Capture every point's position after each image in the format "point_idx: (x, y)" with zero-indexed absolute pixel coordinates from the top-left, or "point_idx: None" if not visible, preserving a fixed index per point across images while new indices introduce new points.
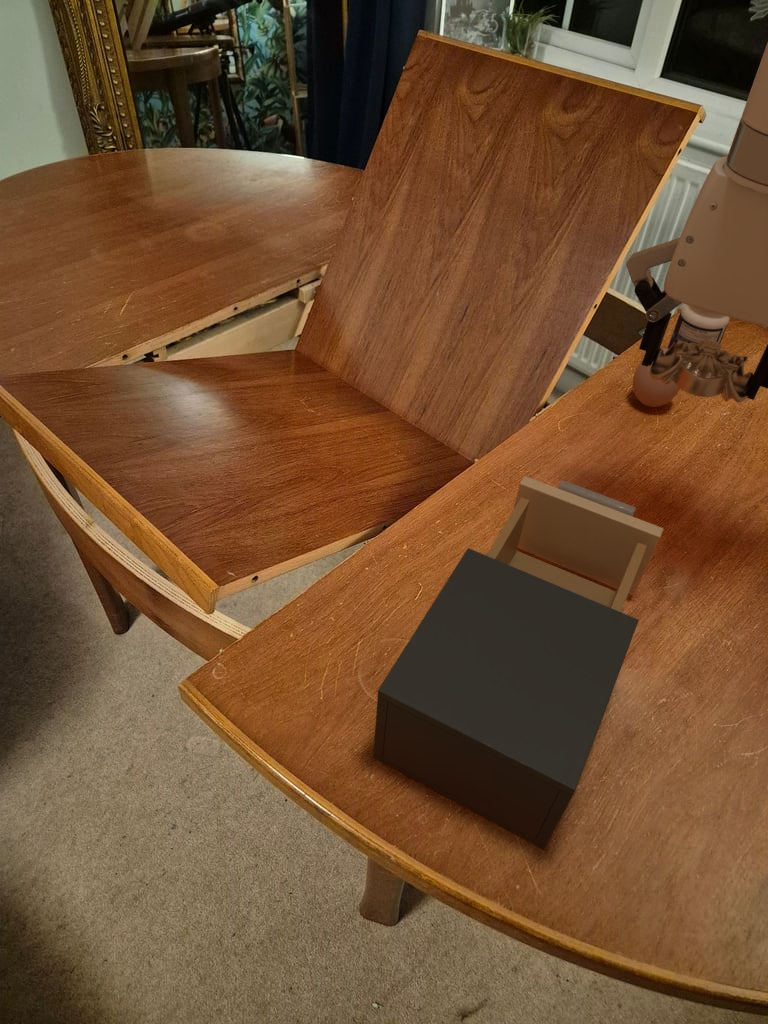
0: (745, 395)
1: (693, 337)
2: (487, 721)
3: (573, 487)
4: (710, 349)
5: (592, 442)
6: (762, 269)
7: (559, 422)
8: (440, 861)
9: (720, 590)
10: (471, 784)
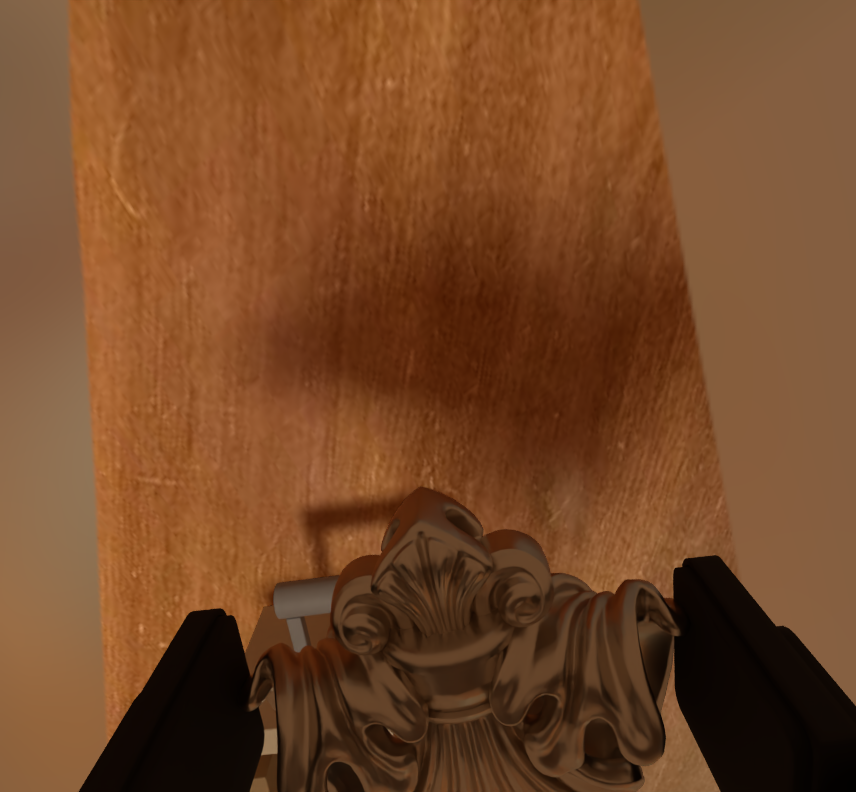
0: (677, 698)
1: None
2: None
3: (306, 611)
4: (459, 695)
5: (227, 204)
6: None
7: (115, 183)
8: None
9: (644, 464)
10: None
